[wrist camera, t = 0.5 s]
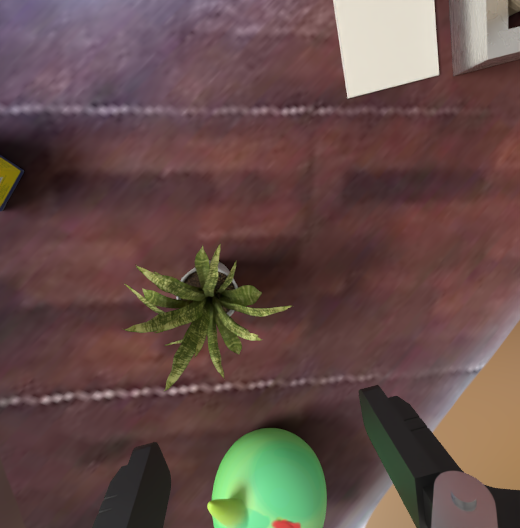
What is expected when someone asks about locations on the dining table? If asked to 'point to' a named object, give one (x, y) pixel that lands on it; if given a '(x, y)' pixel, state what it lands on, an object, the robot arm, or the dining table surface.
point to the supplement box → (8, 180)
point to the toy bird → (269, 483)
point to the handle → (513, 7)
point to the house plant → (201, 310)
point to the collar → (481, 35)
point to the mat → (386, 43)
